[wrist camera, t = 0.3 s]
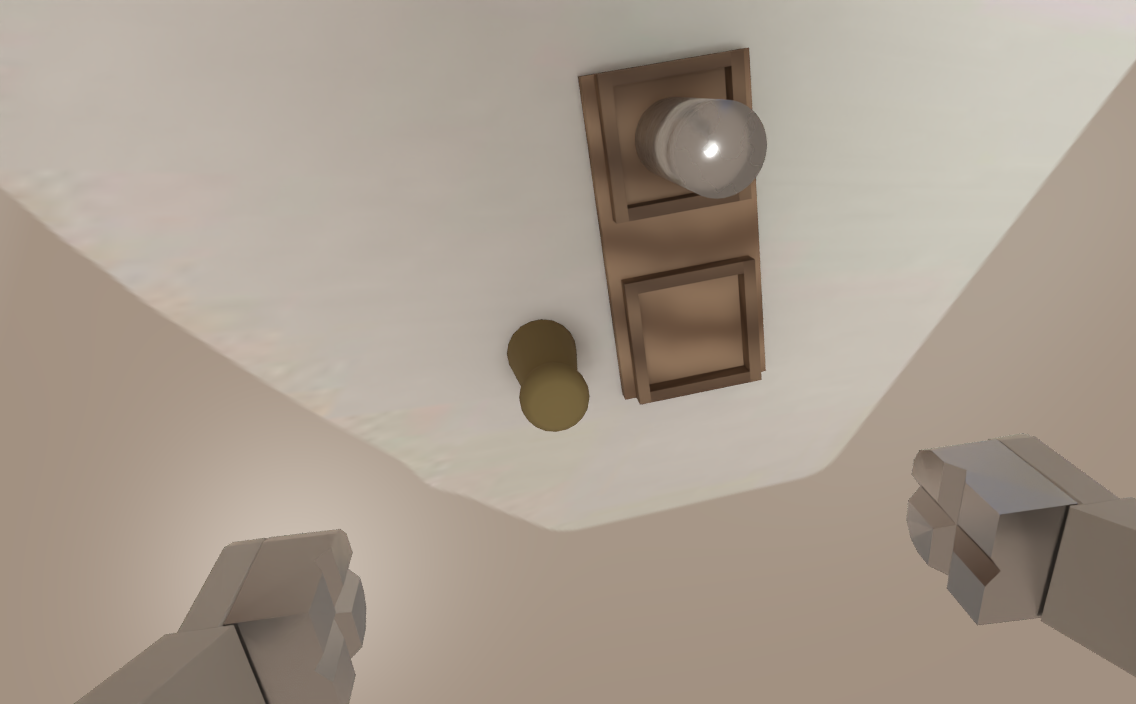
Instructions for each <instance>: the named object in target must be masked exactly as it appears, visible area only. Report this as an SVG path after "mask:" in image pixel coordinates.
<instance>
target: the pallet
mask: <svg viewBox="0 0 1136 704" xmlns="http://www.w3.org/2000/svg"><path fill="white" fill-rule="evenodd" d="M578 80H579V87H580V94H581V101H582V108H583V115H584V122H585V129H586V137H587V144H588V151H589V158H590V165H591V172H592V179H593V186H594V194H595V201H596V208H597V215H598V222H599V229H600V236H601V243H602V251H603V258H604V265H605V272H606V279H607V286H608V293H609V300H610V308H611V315H612V322H613V329H614V336H615V343H616V350H617V357H618V365H619V372H620V379H621V386H622V393H623V396H624V398H625V400H626V399H631V398H637V399H638V401H639V403H640V405H641V404H646V403H651V402H655V401H660V400H665V399H670V398H675V397H680V396H685V395H690V394H694V393H699V392H704V391H709V390H714V389H719V388H724V387H728V386H733V385H738V384H743V383H748V382H753V381H758V380H762V379H761V372H763V371H766V369H765V350H764V330H763V311H762V291H761V272H760V252H759V232H758V213H757V193H756V178H755V179H754V180H753V181H752V183H751V184H750V185H748V186H747V187H746V188H745V189H743V190H742V191H741V192H739V193H737V194H735V195H732V196H730V197H726V198H719V199H716V198H707V197H704V196H701V195H699V194H697V193H694V192H692V191H690V190H688V189H686V188H684V187H682V186H680V185H678V184H675V183H673V182H671V181H669V180H667V179H665V178H663V177H661V176H659V175H656V174H654V173H653V172H651V171H650V170H648V169H647V168H646V167H645V166H644V165H643V163H642V162H641V160H640V159H639V156H638V154H637V151H636V146H635V133H636V128H637V125H638V122H639V120H640V118H641V117H642V115H643V114H644V112H645V111H646V110H647V109H648V108H649V107H650V106H651V105H652V104H654V103H655V102H657V101H659V100H661V99H664V98H668V97H689V98H706V99H723V100H733V101H737V102H740V103H742V104H744V105H746V106H748V107H749V108H750V109H752V96H751V76H750V57H749V48H743V49H737V50H732V51H726V52H720V53H714V54H708V55H702V56H696V57H691V58H685V59H679V60H673V61H667V62H661V63H656V64H650V65H644V66H638V67H632V68H626V69H620V70H615V71H609V72H603V73H597V74H591V75H585V76H579V77H578Z"/></svg>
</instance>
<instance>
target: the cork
mask: <svg viewBox="0 0 1136 704" xmlns="http://www.w3.org/2000/svg"><path fill="white" fill-rule="evenodd" d="M507 356H508V361H509V365H510V367H511V369H512V370H513V372H514V374H515V376H516V378H517V380H518V382H519V383H520V385H521V389H520V396H519V399H520V404H521V409H522V412H523V413H524V415H525V416H526V418H527V419H528V421H529V422H531V423H532V424H533V425H534V426H536V427H537V428H540V429H542V430H545V431H553V432H557V431H562V430H566V429H568V428H570V427H572V426H574V425H576V424H577V423H578V422H579V421H580V420H581V419H582V418H583V416H584V414H585V412H586V411H587V408H588V402H589V397H590V396H589V390H588V386H587V384H586V382H585V380H584V378H583V376H582V375H581V374H580V373H579V372H578V371H577V354H576V346H575V340H574V339H573V337H572V335H571V333H570V332H569V331H568V330H567V329H566V328H565V327H564V326H563V325H561V324H559V323H557V322H554V321H551V320H542V319H541V320H536V321H531V322H529V323H527V324H525V325H523V326H521V327H520V328H519V329H518V330H517V331H516V332H515V333H514V334H513V336H512V338H511V340H510V342H509V344H508V351H507Z"/></svg>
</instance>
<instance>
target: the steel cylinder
mask: <svg viewBox="0 0 1136 704" xmlns="http://www.w3.org/2000/svg"><path fill="white" fill-rule="evenodd" d="M635 146H636V151H637V154H638V156H639V159H640V160H641V162H642V163H643V165H644V166H645V167H646V168H647V169H648V170H650V171H651V172H653V173H654V174H656V175H659V176H661V177H663V178H665V179H667V180H669V181H671V182H673V183H675V184H678V185H680V186H682V187H684V188H686V189H688V190H690V191H692V192H694V193H697V194H699V195H701V196H704V197H707V198H716V199H719V198H726V197H730V196H732V195H735V194H737V193H739V192H741V191H742V190H743V189H745V188H746V187H747V186H748V185H750V184H751V183H752V181H753V180H754V179H755V178H756V176H757V175H758V173H759V172H760V170H761V168H762V165H763V163H764V160H765V156H766V149H767V140H766V134H765V129H764V127H763V124H762V122H761V120H760V119H759V117H758V116H757V115H756V113H755V112H754V111H753V110H752V109H750V108H749V107H748V106H746V105H744V104H742V103H740V102H737V101H733V100H723V99H706V98H689V97H668V98H664V99H661V100H659V101H657V102H655V103H654V104H652V105H651V106H650V107H649V108H648V109H647V110H646V111H645V112H644V114H643V115H642V117H641V118H640V120H639V122H638V125H637V128H636V133H635Z"/></svg>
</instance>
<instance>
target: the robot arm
mask: <svg viewBox="0 0 1136 704" xmlns="http://www.w3.org/2000/svg"><path fill="white" fill-rule="evenodd" d="M912 476H913V477H914V478H915V480H916V481H917V482H918V484H919V485H920V487H919V488H918V489H917V491H916V492H915V493H914V494H913V495H912V497H911V498H910V499H909V500H908V510H907V524H908V528H909V533H910V537H911V540H912V542H913V544H914V546H915V548H916V550H917V552H918V553H919V555H920V556H921V557H922V558H923V560H924V561H925V562H926V564H927V565H928V566H930V567H932V568H934V569H936V570H939V571H941V572H943V573H945V574H947V575H948V583H947V589H948V590H949V592H950V593H951V594H952V595H953V596H954V598H955V599H956V600H957V601H958V603H959V604H960V605H961V606H962V607H963V609H964V610H965V611H966V612H967V613H968V614H969V616H970V617H971V618H972V619H973V621H974V622H975V623H976V624H977V625H984V624H992V623H1001V622H1009V621H1018V620H1026V619H1034V618H1041V621H1042V622H1043V623H1045V624H1047V625H1048V626H1050V627H1052V628H1054V629H1055V630H1057V631H1059V632H1060V633H1062V634H1064V635H1065V636H1067V637H1069V638H1070V639H1072V640H1074V641H1076V642H1077V643H1079V644H1081V645H1082V646H1084V647H1086V648H1087V649H1089V650H1091V651H1092V652H1094V653H1096V654H1098V655H1099V656H1101V657H1103V658H1104V659H1106V660H1108V661H1109V662H1111V663H1113V664H1114V665H1116V666H1118V667H1120V668H1121V669H1123V670H1125V671H1126V672H1128V673H1130V674H1131V675H1133V676H1135V677H1136V499H1135V498H1132V497H1131V498H1123V499H1120V498H1118V497H1117V496H1116V495H1114V494H1113V493H1111V492H1110V491H1109V490H1107V489H1106V488H1105V487H1103V486H1102V485H1101V484H1099V483H1098V482H1096V481H1095V480H1094V479H1092V478H1091V477H1090V476H1088V475H1087V474H1086V473H1084V472H1083V471H1081V470H1080V469H1079V468H1077V467H1076V466H1075V465H1073V464H1072V463H1070V462H1069V461H1068V460H1066V459H1065V458H1064V457H1062V456H1061V455H1060V454H1058V453H1057V452H1055V451H1054V450H1053V449H1051V448H1050V447H1049V446H1047V445H1046V444H1044V443H1043V442H1042V441H1040V440H1039V439H1038V438H1036V437H1034V436H1030V435H1027V434H1024V433H1022V434H1016V435H1010V436H1005V437H998V438H993V439H988V440H987V441H981V442H974V443H966V444H960V445H952V446H946V447H938V448H931V449H925V450H919V452H918V454H917V455H916V457H915V459H914V463H913V469H912ZM352 553H353V552H352V549H351V546H350V543H349V540H348V537H347V534H346V533H345V532H344V531H342V530H341V529H336V530H328V531H320V532H311V533H302V534H293V535H284V536H276V537H269V538H260V539H253V540H245V541H238V542H232V543H231V544H229V545H228V546H226V547H224V549H223V550H222V552H221V554H220V556H219V558H218V559H217V561H216V563H215V565H214V567H213V568H212V570H211V572H210V574H209V576H208V578H207V579H206V581H205V583H204V585H203V587H202V588H201V590H200V592H199V594H198V596H197V598H196V599H195V601H194V603H193V605H192V607H191V608H190V611H189V612H188V614H187V616H186V618H185V619H184V621H183V623H182V625H181V627H180V628H179V630H178V632H177V633H173V634H166V635H164V636H163V637H161V638H160V639H159V640H157V641H156V642H155V643H153V644H152V645H151V646H149V647H148V648H147V649H145V650H144V651H143V652H142V653H140V654H139V655H137V656H136V657H135V658H134V659H132V660H131V661H130V662H128V663H127V664H126V665H124V666H123V667H122V668H120V669H119V670H118V671H116V672H115V673H114V674H112V675H111V676H110V677H108V678H107V679H106V680H104V681H103V682H102V683H101V684H99V685H98V686H97V687H95V688H94V689H93V690H91V691H90V692H89V693H87V694H86V695H85V696H83V697H82V698H81V699H79V700H78V701H77V702H76V703H74V704H349V701H350V696H351V692H352V688H353V684H354V680H355V675H356V674H355V671H354V668H353V665H352V661H351V658H352V657H353V656H354V655H355V654H356V653H357V652H358V651H359V650H360V649H361V648H362V645H363V640H364V635H365V629H366V603H365V596H364V590H363V586H362V583H361V579H360V577H359V576H358V575H356V574H355V573H353V572H352V571H351V570H349V569H348V568H349V564H350V560H351V557H352Z"/></svg>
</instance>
